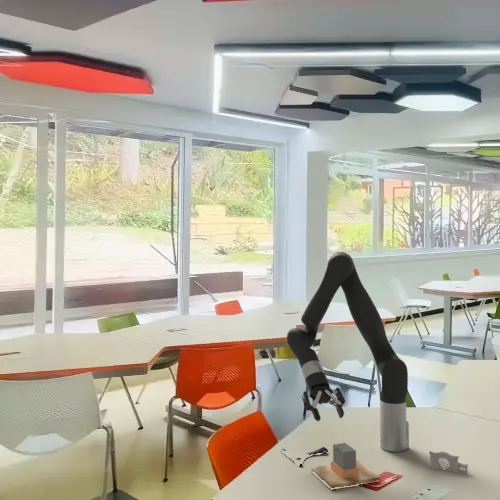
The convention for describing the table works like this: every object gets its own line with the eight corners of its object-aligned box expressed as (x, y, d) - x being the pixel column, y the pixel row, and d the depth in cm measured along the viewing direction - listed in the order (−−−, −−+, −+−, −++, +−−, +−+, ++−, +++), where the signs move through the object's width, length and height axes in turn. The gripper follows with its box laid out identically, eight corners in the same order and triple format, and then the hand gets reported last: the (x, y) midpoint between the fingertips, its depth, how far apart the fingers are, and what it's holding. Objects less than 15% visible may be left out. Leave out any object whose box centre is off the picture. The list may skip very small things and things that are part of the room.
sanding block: (346, 466, 181) (346, 442, 181) (358, 475, 174) (358, 450, 174) (330, 468, 180) (330, 444, 180) (342, 478, 172) (342, 453, 172)
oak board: (357, 464, 186) (357, 460, 186) (380, 482, 173) (380, 476, 173) (311, 472, 181) (311, 467, 181) (331, 490, 167) (331, 485, 167)
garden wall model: (468, 473, 179) (468, 454, 179) (467, 475, 177) (467, 456, 177) (430, 466, 185) (429, 448, 184) (429, 468, 183) (428, 450, 183)
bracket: (337, 461, 191) (337, 453, 191) (299, 468, 185) (299, 460, 185) (317, 447, 204) (317, 440, 204) (280, 454, 199) (280, 446, 199)
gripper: (299, 373, 191) (314, 415, 180) (336, 368, 195) (353, 410, 185) (293, 384, 196) (308, 426, 185) (329, 380, 201) (345, 421, 190)
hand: (330, 418), depth 185 cm, fingers open, 8 cm apart
